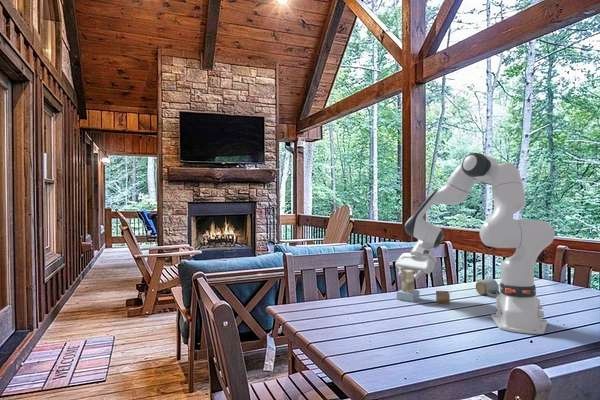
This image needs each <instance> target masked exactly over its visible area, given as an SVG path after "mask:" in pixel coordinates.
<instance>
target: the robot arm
mask: <svg viewBox="0 0 600 400" xmlns="http://www.w3.org/2000/svg"><path fill="white" fill-rule="evenodd" d="M448 177H449V178H448V179H447V181H446V183H445V184H444V185H443V186H442V187H441V188H439V189H436V188H435V189H434V190H433V191H432V192H431V193H430V194H429V195H428V196H427V197H426V199H424V202H422V203H421V205H420V206H419V207H418V209H417V210H416V211H415V213H413V215H411V216H410V218H408V219H407V220H406V222H405V224H404V231H405V233H406V234H407V235H408V236H410V237H414V238H415V239H417V242H416V243H415V244H414V246H413V247H412V249H411V251H410V252H405V253H402V254H401V255H400V256H399V257H398V259H397V260H396V261H395V266H396V267H397V269H398V273H397V275H398V276H399V277H402V270H406V269H409V270H413V271H414V276H413V278H414V280H418V279H419V278H420V277H421V276H422V275H424V274H427V275H429V274H431V273H432V272H433V270H434V268H435V266H436V263H437V261H438V259H437V257H436V256H435V254H434V253H433V252H432V251H433V250H435V249H436V248H439V247H440V245H441V242H442V241H443V239H444V238H445V233H444V230H443V229H442V228H441V227H438V226H437V225H434V224H432V223H430V222H428V221H426V220H425V219H423V216H424V215H425V214H427V212H428V211H429V209H430V208H431V207H432V206H434V205H438V204H440V205H446V206H447V205H449V206H454V205H455V206H456V205H459V204H460V205H461V204H462V203H464V201H466V199H467V197H468V196H469V194H470V192H471V191H472V189H473V187H474V186H475V184H477V183H481V184H482V185H489V186H491V189H492V190H491V191H492V194H493V195H492V196H493V205H494V207H493V211H492V214H491V215H490V217H489V219H487V220H486V221H485V222H483V224H482V225H480V226H481V227H480V228H479V238H480V240H481V242H482V243H483V244H484V245H485V246H487V247H491V248H498V249H515V252H514V253H513V254H512V255H511V256H509V257H507V258H505V259H504V260H503V261H502V262H501V264H500V282H499V292H500V294H499V295H498V294H497V295H498V296H497V297H495V307H496V308H495V312H496V313H493V314H491V315H490V318H491V319H492V321H493V322H494V323H495V325H496V326H497V328H498V329H500V330H504V331H507V332H514V333H519V334H521V333H522V334H530V335H533V334H534V335H544V334H545V332H546V330H547V326H548V320H547V319H544V317H545V312H544V310H542V309H543V305H541V300H540V298H538V296H536V295H537V287H536V284H535V267H536V266H535V265H536V262H537V259H538V257H539V256H540V255H541V253H542V252H543V250H545V249H546V248H547V247H548V246H550V245H551V244H552V243H553V242H554V239H555V229H554V228H553V226H552V225H551V223H549V222H548V221H545V220H542V219H541V220H540V219H535V218H534V219H533V218H532V219H531V218H530V219H515V218H514V215H515V214H516V213H519V212H520V211H522V210H523V209H524V208H525V206H526V204H527V198H526V193H525V189H524V184H523V180H522V176H521V174H520V172H519V170H518V168H517V166H516V165H515V164H514V163H512V162H501V161H499V160H496V159H495V158H493V157H491V156H488V155H486V154H483V153H482V152H471V153H468V154H467V155H466V156H465V157H464V158H463V160H462V162H461V164H459V165H458V166H457V167H456V168H455V169H454V170H453V172H452V173H451V174H450V176H448ZM415 272H416V273H415Z"/></svg>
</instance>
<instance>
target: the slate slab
mask: <svg viewBox="0 0 600 400" xmlns="http://www.w3.org/2000/svg"><path fill="white" fill-rule="evenodd" d="M419 299H420V290H416V289H414V291H413V292H405V291H402V289H400V290H397V291H396V300H398V301H405V302H412V303H413V302H415V301H417V300H419Z"/></svg>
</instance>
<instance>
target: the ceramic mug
mask: <svg viewBox="0 0 600 400" xmlns="http://www.w3.org/2000/svg"><path fill="white" fill-rule="evenodd" d="M475 290H476V292H477V293H478V294H479V295H481V296H487V295H488V296H489V297H492V298H496V297H497V296H498V295H499V294H500V293H501V292H500V285H499V283H498V282H497V280H495V279H494V278H491V277H488V278H485V279H481V280H478V281H477V282H475Z"/></svg>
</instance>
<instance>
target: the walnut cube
mask: <svg viewBox="0 0 600 400" xmlns="http://www.w3.org/2000/svg"><path fill="white" fill-rule="evenodd" d="M435 294H436V295H435V301H436V303H437V305H444V306H445V305H450V304H451V303H450V302H451V301H450V300H451V295H450V293H449V291H448V290H436V291H435Z"/></svg>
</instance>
